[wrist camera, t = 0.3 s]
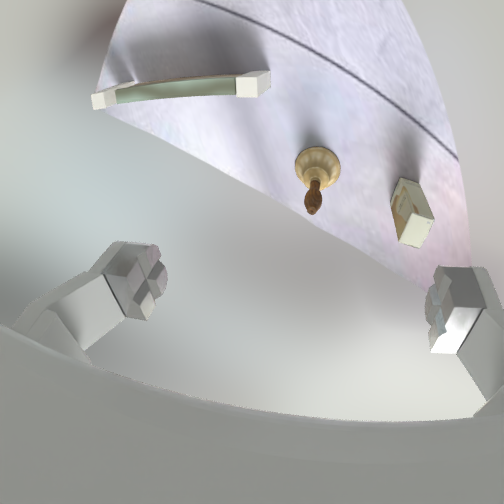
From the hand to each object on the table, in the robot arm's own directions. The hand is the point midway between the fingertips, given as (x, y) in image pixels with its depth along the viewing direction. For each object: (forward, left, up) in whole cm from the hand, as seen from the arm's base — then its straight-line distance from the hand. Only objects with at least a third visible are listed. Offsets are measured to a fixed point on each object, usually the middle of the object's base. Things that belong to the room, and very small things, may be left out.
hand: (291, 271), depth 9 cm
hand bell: (+17, -1, -47) cm, 50 cm away
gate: (+1, -23, -46) cm, 51 cm away
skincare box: (+20, +16, -47) cm, 53 cm away
